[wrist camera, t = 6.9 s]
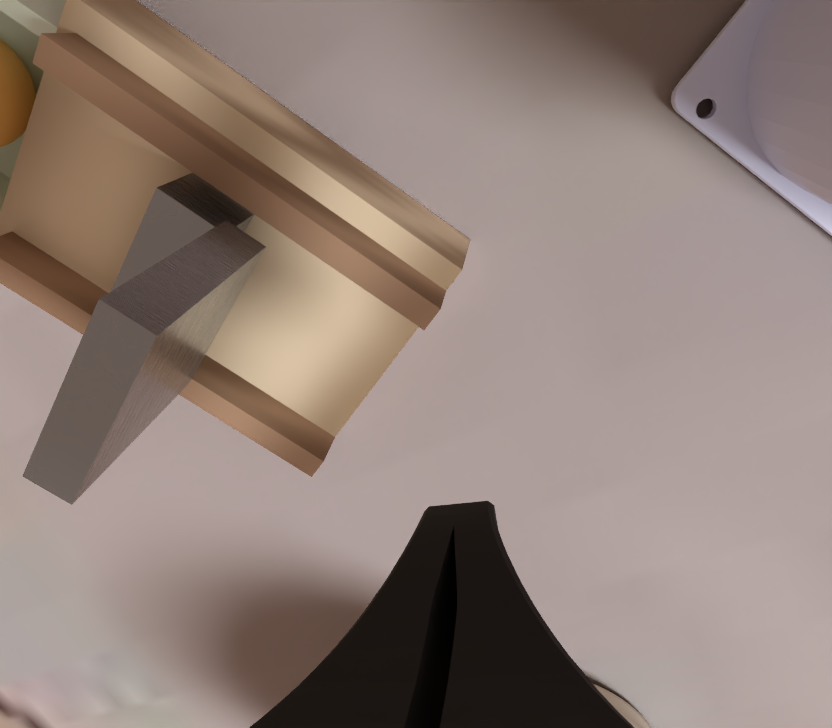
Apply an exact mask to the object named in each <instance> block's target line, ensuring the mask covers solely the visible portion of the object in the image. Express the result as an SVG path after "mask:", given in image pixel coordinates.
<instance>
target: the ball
mask: <svg viewBox="0 0 832 728" xmlns="http://www.w3.org/2000/svg"><path fill="white" fill-rule="evenodd" d="M35 99H36V94H35V89H34V84H33V81H32V78H31V76H30V73H29V71H28V70H27V68H26V66H25V65H24V63H23V62H22V60H21V59H20V57H19V56H18V55H17V54H16V53H15V52H14V51H13V50H12V49H11V48H10V47H9V46H8V45H7V44H6V43H5V42H3V41H2V40H1V39H0V147H3V146H5V145H8V144H10V143H12V142H13V141H15V140H16V139H17V138H19V137H20V136H21V135H22V134H23V133H24V132H25V131H26V128H27V125H28V121H29V118H30V115H31V112H32V108H33V105H34V102H35Z"/></svg>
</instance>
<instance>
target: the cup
mask: <svg viewBox="0 0 832 728" xmlns="http://www.w3.org/2000/svg"><path fill="white" fill-rule="evenodd" d="M65 2H66V0H0V39H1V40H2V41H3V42H5V43H6V44H7V45H8V46H9V47H10V48H11V49H12V50H13V51H14V52H15V53H16V54H17V55H18V56H19V57H20V59H21V60H22V62H23V63H24V65H25V66H26V68H27V70H28V71H29V73H30V76H31V78H32V81H33V84H34V89H35V94H36V96H37V92H38V89H39V86H40V83H41V79H42V76H43V73H44V71H43V70H42V69H40V68H39V67H38V66H36V65H35V64H33V63H32V62H33V59H34V55H35V52H36V49H37V45H38V42H39V39H40V35H41V33H56V31H57V28H58V25H59V21H60V18H61V15H62V12H63V8H64V5H65ZM24 134H25V132H24V133H23V134H22V135H21V136H20V137H19V138H17V139H16V140H15V141H13V142H12V143H10V144H8V145H5V146H3V147H0V212H1V209H2V205H3V202H4V199H5V196H6V192H7V189H8V186H9V183H10V179H11V176H12V173H13V170H14V167H15V163H16V160H17V157H18V154H19V150H20V147H21V144H22V141H23V138H24Z"/></svg>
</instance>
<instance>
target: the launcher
mask: <svg viewBox="0 0 832 728" xmlns="http://www.w3.org/2000/svg"><path fill="white" fill-rule="evenodd" d="M32 63H33V64H35V65H36V66H38V67H39V68H40V69H42V70H43V71H44V73H43V76H42V79H41V83H40V86H39V89H38V92H37V96H36V99H35V102H34V105H33V108H32V112H31V115H30V118H29V121H28V125H27V128H26V131H25V134H24V138H23V141H22V144H21V147H20V150H19V154H18V157H17V160H16V163H15V167H14V170H13V173H12V176H11V179H10V183H9V186H8V189H7V192H6V196H5V199H4V202H3V205H2V209H1V212H0V283H1V284H3V285H4V286H6V287H7V288H9V289H11V290H12V291H14V292H15V293H17V294H19V295H20V296H22V297H24V298H25V299H27V300H28V301H30V302H32V303H33V304H35V305H36V306H38V307H40V308H41V309H43V310H44V311H46V312H48V313H49V314H51V315H52V316H54V317H56V318H57V319H59V320H60V321H62V322H64V323H65V324H67V325H68V326H70V327H72V328H73V329H75V330H77V331H78V332H80V333H81V334H83V335H84V332H85V330H86V328H87V325H88V323H89V321H90V318H91V316H92V314H93V311H94V309H95V307H96V304H97V302H98V300H99V299H100V298H101V297H103V296H104V295H106V294H108V293H109V292H111V290H112V288H113V285H114V283H115V281H116V279H117V276H118V274H119V272H120V269H121V267H122V265H123V263H124V260H125V258H126V256H127V253H128V251H129V249H130V247H131V244H132V242H133V240H134V238H135V235H136V233H137V231H138V228H139V226H140V224H141V222H142V219H143V217H144V215H145V212H146V210H147V208H148V206H149V203H150V201H151V199H152V197H153V194H154V192H155V190H156V188H157V187H159V186H161V185H164V184H166V183H169V182H171V181H173V180H176V179H178V178H181V177H183V176H185V175H188V174H190V173H194V174H196V175H197V176H199V177H200V178H202V179H203V180H205V181H206V182H208V183H209V184H210V185H212V186H213V187H215V188H216V189H218V190H219V191H221V192H222V193H224V194H225V195H227V196H228V197H230V198H231V199H232V200H234V201H235V202H237V203H238V204H240V205H241V206H243V207H244V208H246V209H247V210H249V211H250V212H252V213H253V214H254V216H253V218H252V220H251V221H250V223H249V225H248V227H247V229H246V231H245V233H247V234H248V235H250V236H251V237H253V238H254V239H255V240H257V241H258V242H260V243H261V244H263V245H264V246H266V248H265V250H264V251H263V253H262V255H261V257H260V258H259V260H258V262H257V264H256V266H255V267H254V269H253V271H252V273H251V274H250V276H249V278H248V280H247V282H246V283H245V285H244V287H243V289H242V290H241V292H240V294H239V296H238V297H237V299H236V301H235V303H234V305H233V306H232V308H231V310H230V312H229V313H228V315H227V317H226V319H225V321H224V322H223V324H222V326H221V328H220V329H219V331H218V333H217V335H216V337H215V338H214V340H213V342H212V344H211V345H210V347H209V349H208V351H207V352H206V354H205V356H204V358H203V360H202V361H201V363H200V365H199V367H198V368H197V370H196V372H195V374H194V376H193V377H192V379H191V381H190V383H189V384H188V385H187V386H186V387H185V388H184V389H183V390H182V391H181V392H180V393H179V395H181V396H183V397H184V398H186V399H187V400H189V401H191V402H192V403H194V404H195V405H197V406H199V407H200V408H202V409H203V410H205V411H207V412H208V413H210V414H211V415H213V416H215V417H216V418H218V419H219V420H221V421H223V422H224V423H226V424H227V425H229V426H231V427H232V428H234V429H236V430H237V431H239V432H240V433H242V434H244V435H245V436H247V437H248V438H250V439H252V440H253V441H255V442H256V443H258V444H260V445H261V446H263V447H264V448H266V449H268V450H269V451H271V452H272V453H274V454H276V455H277V456H279V457H280V458H282V459H284V460H285V461H287V462H289V463H290V464H292V465H293V466H295V467H297V468H298V469H300V470H301V471H303V472H305V473H306V474H308V475H309V476H311V477H312V476H313V474H314V473H315V472H316V470H317V469H318V468H319V467H320V465H321V464H322V463H323V461H324V459H325V457H326V455H327V453H328V451H329V449H330V447H331V444H332V442H333V440H334V438H335V436H336V435H337V434H338V432H339V431H340V430H341V429H342V427H343V426H344V425H345V423H346V422H347V421H348V419H349V418H350V417H351V415H352V414H353V413H354V411H355V410H356V409H357V407H358V406H359V405H360V404H361V402H362V401H363V400H364V398H365V397H366V396H367V394H368V393H369V392H370V390H371V389H372V388H373V386H374V385H375V384H376V382H377V381H378V380H379V379H380V377H381V376H382V375H383V373H384V372H385V371H386V369H387V368H388V367H389V365H390V364H391V363H392V361H393V360H394V359H395V357H396V356H397V355H398V353H399V352H400V351H401V350H402V348H403V347H404V346H405V344H406V343H407V342H408V340H409V339H410V338H411V336H412V335H413V334H414V332H415V331H416V330H417V328H418V327H420V328H422V329H423V330H425V328H426V327H427V326H428V325H429V323H430V322H431V321H432V319H433V318H434V317H435V315H436V314H437V313H438V312H439V310H440V309H441V306H442V302H443V299H444V296H445V293H446V290H447V289H448V288H449V286H450V285H451V284H452V282H453V281H454V280H455V278H456V277H457V276H458V275H459V273H460V272H461V271H462V268H463V265H464V261H465V257H466V254H467V250H468V246H469V243H470V239H468V238H467V237H465V236H464V235H463V234H461V233H460V232H458V231H457V230H456V229H454V228H453V227H451V226H450V225H449V224H447V223H446V222H444V221H443V220H442V219H440V218H439V217H438V216H436V215H435V214H433V213H432V212H431V211H429V210H428V209H426V208H425V207H424V206H422V205H421V204H419V203H418V202H417V201H415V200H414V199H412V198H411V197H410V196H408V195H407V194H405V193H404V192H403V191H401V190H400V189H398V188H397V187H396V186H394V185H393V184H391V183H390V182H389V181H387V180H386V179H384V178H383V177H382V176H380V175H379V174H377V173H376V172H375V171H373V170H372V169H370V168H369V167H368V166H366V165H365V164H364V163H362V162H361V161H359V160H358V159H357V158H355V157H354V156H352V155H351V154H350V153H348V152H347V151H345V150H344V149H343V148H341V147H340V146H338V145H337V144H336V143H334V142H333V141H331V140H330V139H329V138H327V137H326V136H324V135H323V134H322V133H320V132H319V131H317V130H316V129H315V128H313V127H312V126H310V125H309V124H308V123H306V122H305V121H303V120H302V119H301V118H299V117H298V116H296V115H295V114H294V113H292V112H291V111H289V110H288V109H287V108H285V107H284V106H283V105H281V104H280V103H278V102H277V101H276V100H274V99H273V98H271V97H270V96H269V95H267V94H266V93H264V92H263V91H262V90H260V89H259V88H257V87H256V86H255V85H253V84H252V83H250V82H249V81H248V80H246V79H245V78H243V77H242V76H241V75H239V74H238V73H236V72H235V71H234V70H232V69H231V68H229V67H228V66H227V65H225V64H224V63H222V62H221V61H220V60H218V59H217V58H215V57H214V56H213V55H211V54H210V53H208V52H207V51H206V50H204V49H203V48H202V47H200V46H199V45H197V44H196V43H195V42H193V41H192V40H190V39H189V38H188V37H186V36H185V35H183V34H182V33H181V32H179V31H178V30H176V29H175V28H174V27H172V26H171V25H169V24H168V23H167V22H165V21H164V20H162V19H161V18H160V17H158V16H157V15H155V14H154V13H153V12H151V11H150V10H148V9H147V8H146V7H144V6H143V5H141V4H140V3H139V2H137V1H136V0H66V2H65V5H64V8H63V12H62V15H61V18H60V21H59V25H58V28H57V31H56V33H41V35H40V39H39V42H38V45H37V49H36V52H35V55H34V59H33V62H32Z"/></svg>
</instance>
